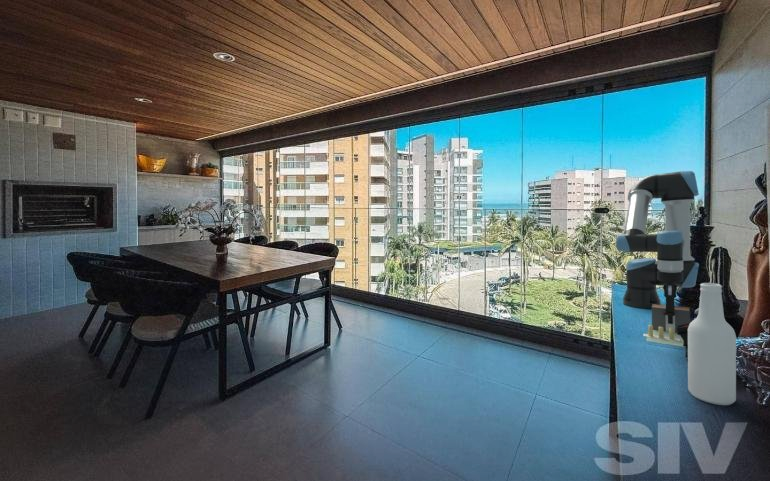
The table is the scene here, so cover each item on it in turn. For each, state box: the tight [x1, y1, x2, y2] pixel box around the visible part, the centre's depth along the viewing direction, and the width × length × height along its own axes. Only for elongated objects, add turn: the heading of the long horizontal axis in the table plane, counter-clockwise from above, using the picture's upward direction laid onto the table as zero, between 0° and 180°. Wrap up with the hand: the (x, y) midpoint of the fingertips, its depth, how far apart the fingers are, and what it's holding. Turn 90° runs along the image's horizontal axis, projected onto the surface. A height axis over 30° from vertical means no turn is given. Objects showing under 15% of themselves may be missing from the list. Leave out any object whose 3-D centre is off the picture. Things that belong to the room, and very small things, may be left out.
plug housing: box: [651, 304, 691, 333], centre depth 126 cm, size 5×11×9 cm, turn 48°
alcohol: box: [687, 282, 737, 406], centre depth 83 cm, size 9×9×30 cm
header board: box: [642, 324, 685, 350], centre depth 122 cm, size 20×13×5 cm, turn 138°
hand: (670, 329), depth 126 cm, fingers closed on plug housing, 5 cm apart
